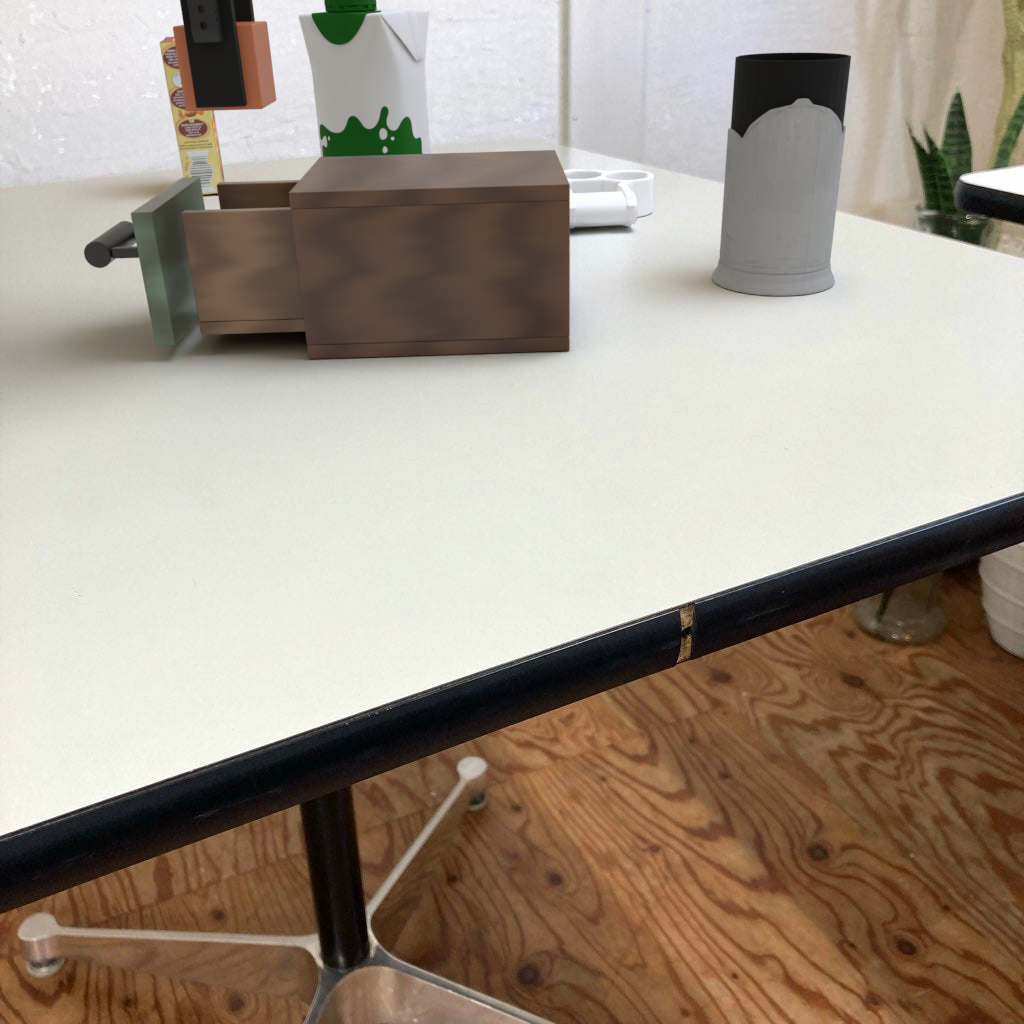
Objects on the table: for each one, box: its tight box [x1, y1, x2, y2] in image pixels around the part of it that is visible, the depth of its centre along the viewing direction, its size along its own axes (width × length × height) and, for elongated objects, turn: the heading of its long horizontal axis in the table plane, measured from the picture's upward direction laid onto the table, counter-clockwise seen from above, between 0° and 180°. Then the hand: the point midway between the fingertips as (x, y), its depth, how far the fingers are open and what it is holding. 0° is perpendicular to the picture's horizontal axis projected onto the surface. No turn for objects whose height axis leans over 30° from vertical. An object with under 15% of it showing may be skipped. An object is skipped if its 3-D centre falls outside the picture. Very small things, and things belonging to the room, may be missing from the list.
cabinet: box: [289, 149, 571, 360], centre depth 66 cm, size 16×13×10 cm
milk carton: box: [298, 0, 431, 157], centre depth 87 cm, size 9×9×20 cm
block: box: [172, 20, 277, 112], centre depth 60 cm, size 4×4×4 cm
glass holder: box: [711, 52, 852, 297], centre depth 75 cm, size 9×14×15 cm, turn 179°
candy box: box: [159, 36, 225, 196], centre depth 112 cm, size 9×4×15 cm, turn 14°
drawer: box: [83, 177, 305, 347], centre depth 66 cm, size 19×12×8 cm, turn 92°
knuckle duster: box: [563, 168, 655, 230], centre depth 96 cm, size 3×18×15 cm
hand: (231, 100), depth 61 cm, fingers closed on block, 4 cm apart
